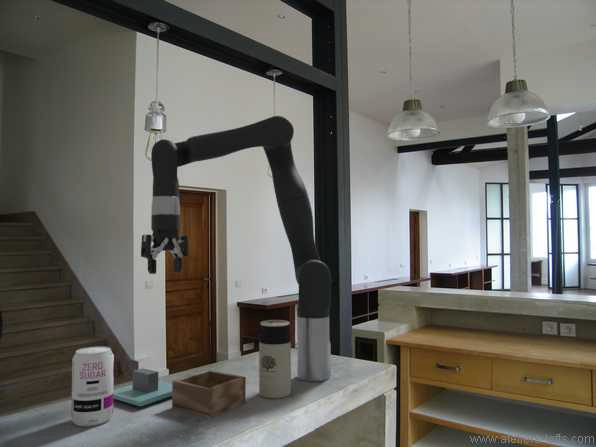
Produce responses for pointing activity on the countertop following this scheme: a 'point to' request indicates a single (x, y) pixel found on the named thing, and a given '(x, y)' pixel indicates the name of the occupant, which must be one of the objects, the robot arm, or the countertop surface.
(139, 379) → the lid
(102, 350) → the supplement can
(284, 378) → the travel mug
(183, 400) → the box
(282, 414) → the countertop surface
